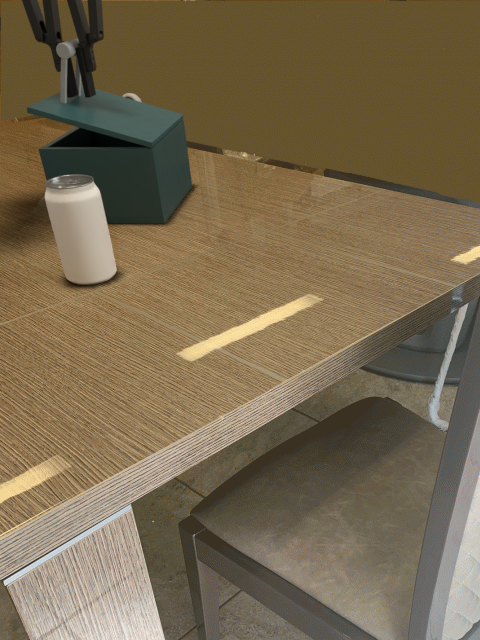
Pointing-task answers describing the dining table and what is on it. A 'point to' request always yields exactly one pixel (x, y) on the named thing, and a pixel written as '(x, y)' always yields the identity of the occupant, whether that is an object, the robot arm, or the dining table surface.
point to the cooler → (125, 172)
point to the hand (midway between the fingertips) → (81, 95)
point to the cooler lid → (104, 109)
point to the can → (80, 229)
